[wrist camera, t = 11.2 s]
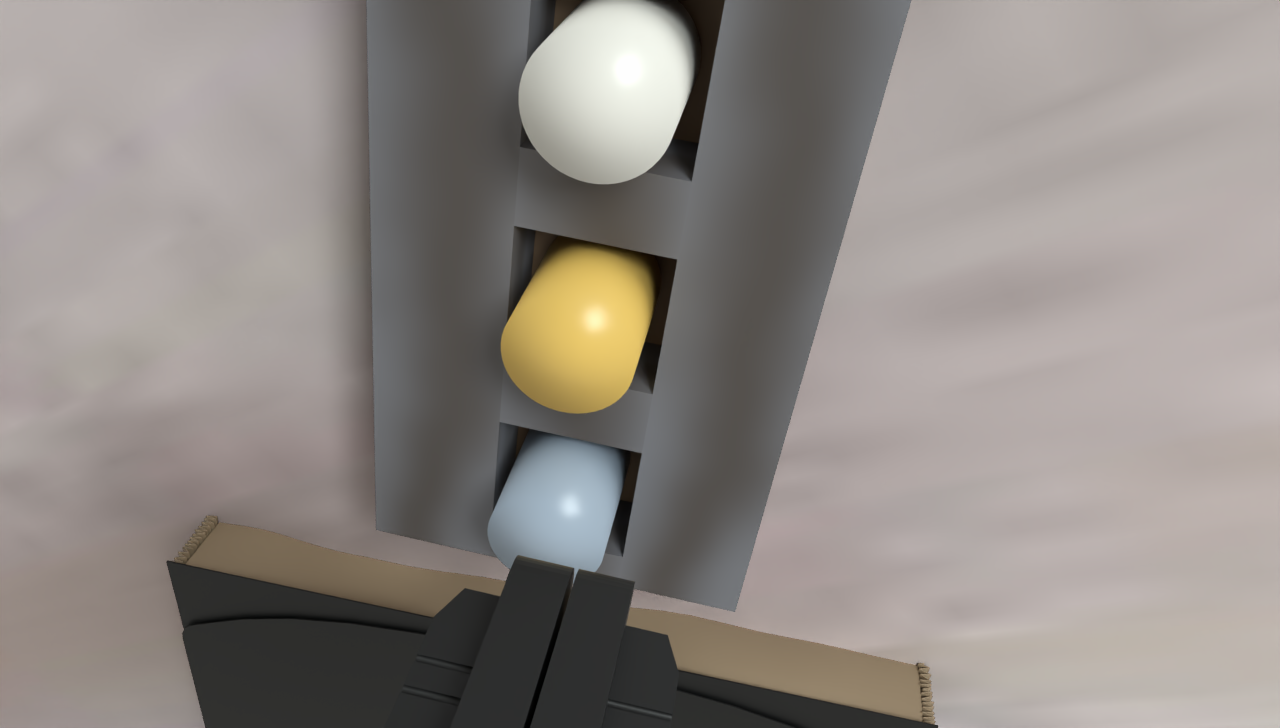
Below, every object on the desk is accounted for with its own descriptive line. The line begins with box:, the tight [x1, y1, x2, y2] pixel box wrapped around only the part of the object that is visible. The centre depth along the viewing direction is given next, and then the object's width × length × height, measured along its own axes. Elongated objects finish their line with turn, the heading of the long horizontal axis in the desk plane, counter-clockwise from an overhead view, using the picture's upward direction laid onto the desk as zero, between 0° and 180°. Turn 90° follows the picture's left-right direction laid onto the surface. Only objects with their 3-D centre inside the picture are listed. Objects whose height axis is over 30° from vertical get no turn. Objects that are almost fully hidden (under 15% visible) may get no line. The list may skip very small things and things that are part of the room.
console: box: [366, 0, 911, 612], centre depth 32 cm, size 14×23×4 cm, turn 172°
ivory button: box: [519, 0, 701, 184], centre depth 26 cm, size 4×4×5 cm
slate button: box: [487, 429, 631, 584], centre depth 34 cm, size 4×4×5 cm
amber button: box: [501, 235, 661, 414], centre depth 30 cm, size 4×4×5 cm
